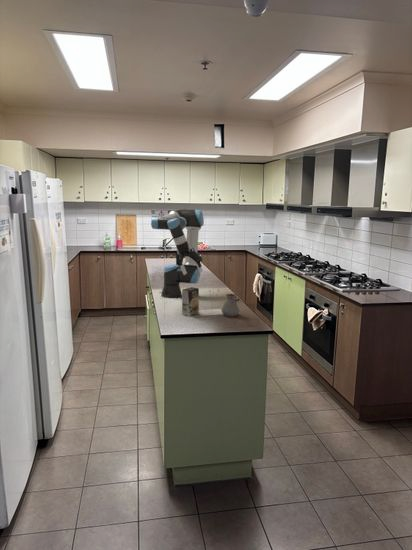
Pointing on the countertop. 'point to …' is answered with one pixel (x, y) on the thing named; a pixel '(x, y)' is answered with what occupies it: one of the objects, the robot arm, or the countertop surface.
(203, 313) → the mat
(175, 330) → the countertop surface
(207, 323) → the countertop surface
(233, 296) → the coffee pot
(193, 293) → the coffee box
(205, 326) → the countertop surface
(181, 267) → the robot arm
